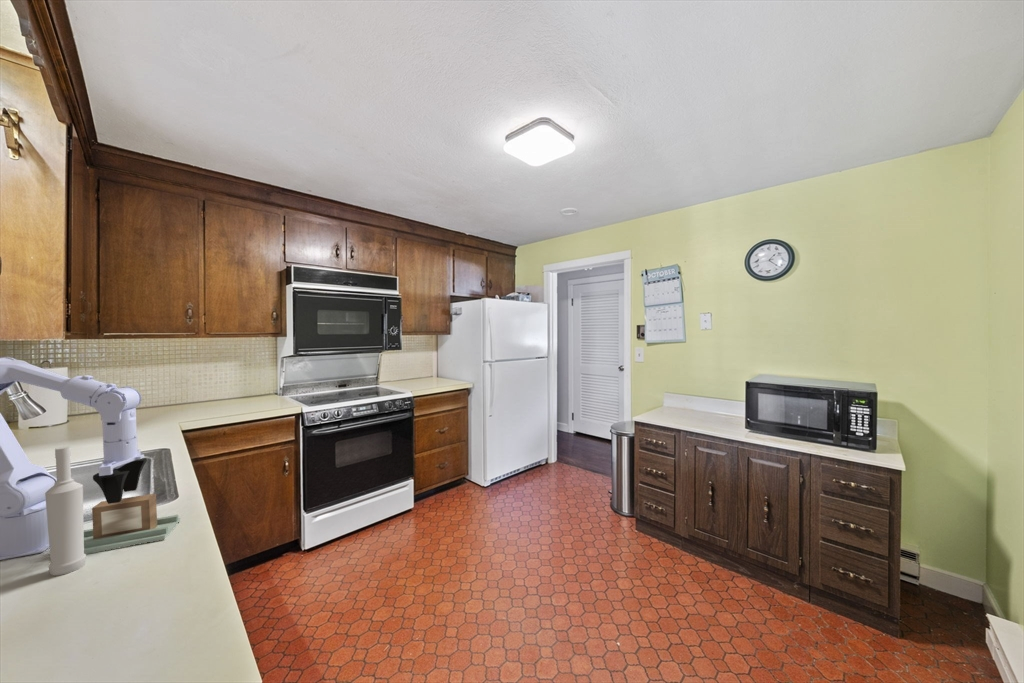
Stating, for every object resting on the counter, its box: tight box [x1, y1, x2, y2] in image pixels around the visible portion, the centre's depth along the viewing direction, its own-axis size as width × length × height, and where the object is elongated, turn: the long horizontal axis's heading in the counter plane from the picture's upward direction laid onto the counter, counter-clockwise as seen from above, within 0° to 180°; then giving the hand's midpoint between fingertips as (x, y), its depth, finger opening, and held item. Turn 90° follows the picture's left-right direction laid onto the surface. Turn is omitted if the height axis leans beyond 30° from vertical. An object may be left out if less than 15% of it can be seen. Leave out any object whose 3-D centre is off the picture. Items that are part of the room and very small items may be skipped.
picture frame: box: [91, 493, 158, 539], centre depth 94 cm, size 10×4×8 cm, turn 114°
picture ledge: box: [84, 514, 181, 555], centre depth 94 cm, size 18×10×2 cm, turn 114°
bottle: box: [45, 445, 87, 577], centre depth 81 cm, size 5×5×25 cm
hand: (122, 496), depth 94 cm, fingers open, 7 cm apart
